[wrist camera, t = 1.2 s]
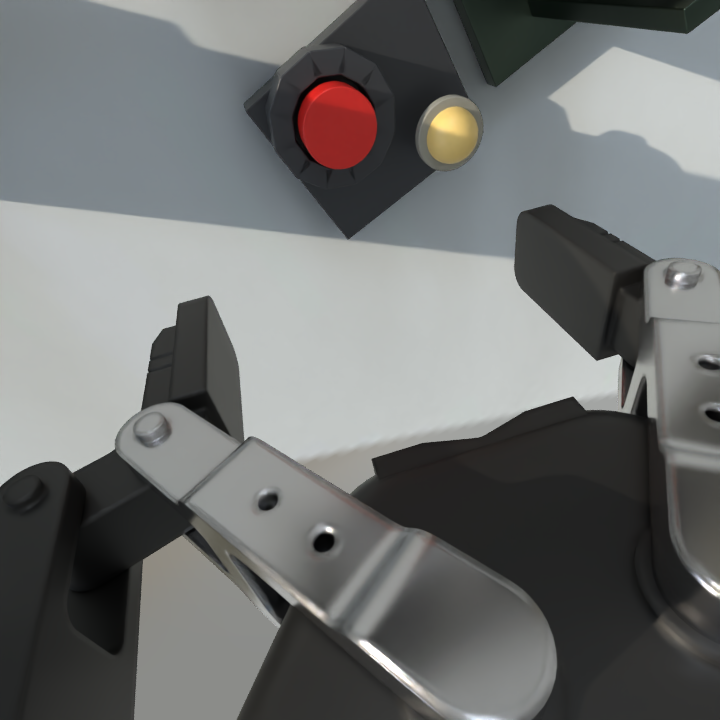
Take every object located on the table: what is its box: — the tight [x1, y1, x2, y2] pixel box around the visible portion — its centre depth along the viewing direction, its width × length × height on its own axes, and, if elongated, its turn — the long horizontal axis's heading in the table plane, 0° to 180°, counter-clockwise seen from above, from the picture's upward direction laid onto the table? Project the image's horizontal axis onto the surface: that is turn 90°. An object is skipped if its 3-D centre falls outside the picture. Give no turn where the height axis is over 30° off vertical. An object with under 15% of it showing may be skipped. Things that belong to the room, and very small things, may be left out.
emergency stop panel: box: [244, 0, 468, 239], centre depth 28 cm, size 10×11×4 cm
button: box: [298, 81, 377, 169], centre depth 25 cm, size 4×4×2 cm
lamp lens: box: [415, 94, 483, 171], centre depth 27 cm, size 4×4×3 cm
